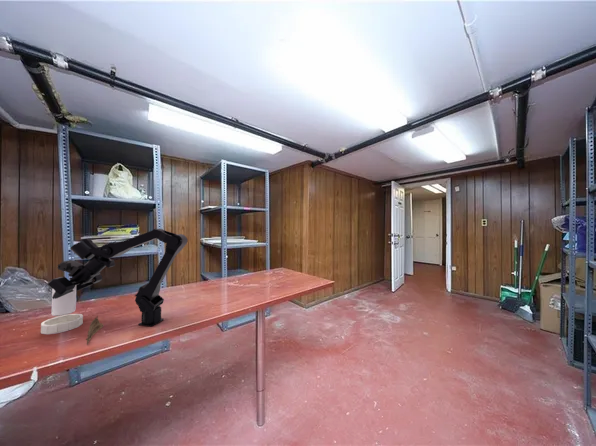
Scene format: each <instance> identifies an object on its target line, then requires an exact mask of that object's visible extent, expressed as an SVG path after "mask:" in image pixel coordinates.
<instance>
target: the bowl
mask: <svg viewBox="0 0 596 446" xmlns="http://www.w3.org/2000/svg"><path fill="white" fill-rule="evenodd" d="M83 320H84V316H83V314H82V313H70V314H67V315H62V316H53V317H51V318H48V319H46V320H44V321H42V322H41V323H40V334H42V335H54V334H59V333H60V334H61V333H64V332H67V331H72V330H73V329H76V328H79V327H81V326H82V325H83V323H84V321H83Z"/></svg>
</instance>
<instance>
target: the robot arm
mask: <svg viewBox="0 0 596 446" xmlns="http://www.w3.org/2000/svg"><path fill="white" fill-rule="evenodd" d="M155 240H159V241H160V242H162V243H164V244H165V247H164V251H165V252H164V254H162V255H163V256H162V257H161V259H160V261H159V263H158V264H157V267H156V268H155V270H154V273H153V274H152V276H151V278H150V280H149V281H148V282H147V283H145V284H143V285H141V286H139V288H138V290H137V293H136V294H135V295H134V297H135V299H134V302H135V303H136V305H137V306H138V309H139V312H141V319H140V320H141V322H139V323H138V325H139V326H145V327H153V326H155V325H157V324H159V323H161V322H162V321H164V318H162V306H161V305H163V303H164V301H165V299H164V298H163V297H162V296H161V295H160V291H161V284H162V283H163V281H164V278H165V277H166V275H167V274H168V272H169V270H170V268H171V266H172V264H173V262H174V260H175V259H176V257H177V255H178V254H179V253H180V252H181V251H182V250H183V249H184V248H185V246H186V245H188V244H187V243H188V238H187V236H186V235H185V234H182V233H179V234H178V233H174V232H171V231H167V230H165V229H163V228H153V229H152V230H150V231H147V232H144V233H142V234H139V235H137V236H133V237H131V238H128V239H126V240H121V241H115V242H109V243H105V244H102V245H101V246H98V245H97V244H96V243H94V242H93V240H92V239H91V238H85V239H83V240H81V241H78V242H77V243H75V244H73V245H72V246H71V247H70V250H71V251H72V252H73V253H74V254H75V255H76V256H78V257H79V258H80V259H81V260H88V261H87V262H85V263H84V264H83V263H81V262H79V261H76V260H73V259H70V260H64V261H61V262H60V263H59V264H57V269H58V270H59V271H61V272H66V273H68V274H67V275H68V276H69V277H70V278H67V277H66V276H59V277H56V278H52V279H51V280H49V281H48V282H47V285H48V286H49V287H51V289H54V290H55V293H54V295H53V297H52V296H51V299H52V298H53V299H54V298H55V299H57V298H59V297H61V296H64V295H66V294H68V293H70V292H72V291H73V289H74V287H75V285H76V292H78V291H80V290H83V289H85V288H88V287H90V286H93V284H97V283H100V282H102V280H103V276H102V274H101V273H102V271H103V269H105V268H106V267H107V269H108V268H112V267H115V266H116V262H115V259H112V258H116V257H121V256H123V255H124V254H126V253H128V252H129V251H130V250H132V249H133V248H136V247H140V246H142V245H144V244H147V243H150V242H152V241H155ZM93 280H94V281H93Z"/></svg>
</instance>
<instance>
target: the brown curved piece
mask: <svg viewBox="0 0 596 446" xmlns="http://www.w3.org/2000/svg"><path fill="white" fill-rule="evenodd" d="M102 328H104V323H102V322H100V320H99V318H98V315H97V316H96V317H95V318H94V319H93V320H92V321H91V323H90V325H89V327H88V331H87V338H86V339H85V340H86V345H88V344H89V342H90V341H91V339H92V337H93V336H94V335H95V334H97V332H99V331H100V330H101V329H102Z"/></svg>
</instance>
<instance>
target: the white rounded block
mask: <svg viewBox="0 0 596 446" xmlns="http://www.w3.org/2000/svg"><path fill="white" fill-rule="evenodd" d="M51 289H52V291H51V315H52V316H53V317H58V316H63V315H68V314H74V312H75V311H76V306H77V291H76V285H75V287H74V289H73V291H72V292H70V293H68V294H66V295H64V296H61V297H59V298H57V299H55V298H54V299H53V298H52V297H53V295H54V293H55V290H54V289H53V288H51Z"/></svg>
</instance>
